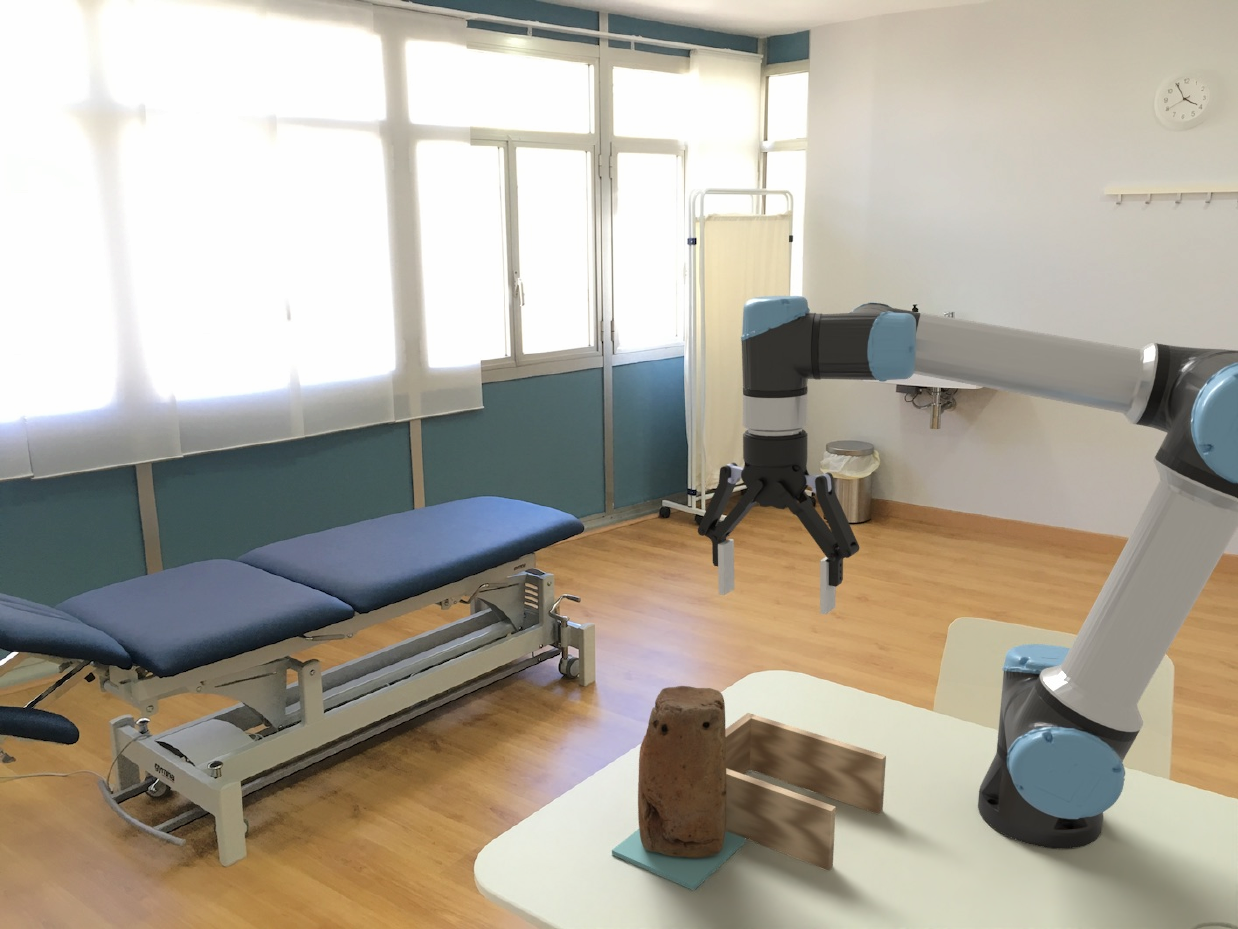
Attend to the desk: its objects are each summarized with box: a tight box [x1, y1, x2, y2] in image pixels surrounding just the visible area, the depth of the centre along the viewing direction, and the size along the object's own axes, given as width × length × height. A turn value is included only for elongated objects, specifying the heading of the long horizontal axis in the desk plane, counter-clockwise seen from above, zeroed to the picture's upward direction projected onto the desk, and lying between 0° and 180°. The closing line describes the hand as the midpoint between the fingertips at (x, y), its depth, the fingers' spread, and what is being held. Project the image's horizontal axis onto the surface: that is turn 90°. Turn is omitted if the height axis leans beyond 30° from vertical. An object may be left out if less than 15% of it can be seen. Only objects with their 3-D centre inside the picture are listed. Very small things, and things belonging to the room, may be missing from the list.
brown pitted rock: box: [637, 685, 727, 858], centre depth 126 cm, size 11×8×20 cm
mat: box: [611, 828, 746, 891], centre depth 129 cm, size 12×12×1 cm
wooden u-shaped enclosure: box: [725, 712, 887, 872], centre depth 136 cm, size 21×16×8 cm
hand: (775, 601), depth 126 cm, fingers open, 13 cm apart
